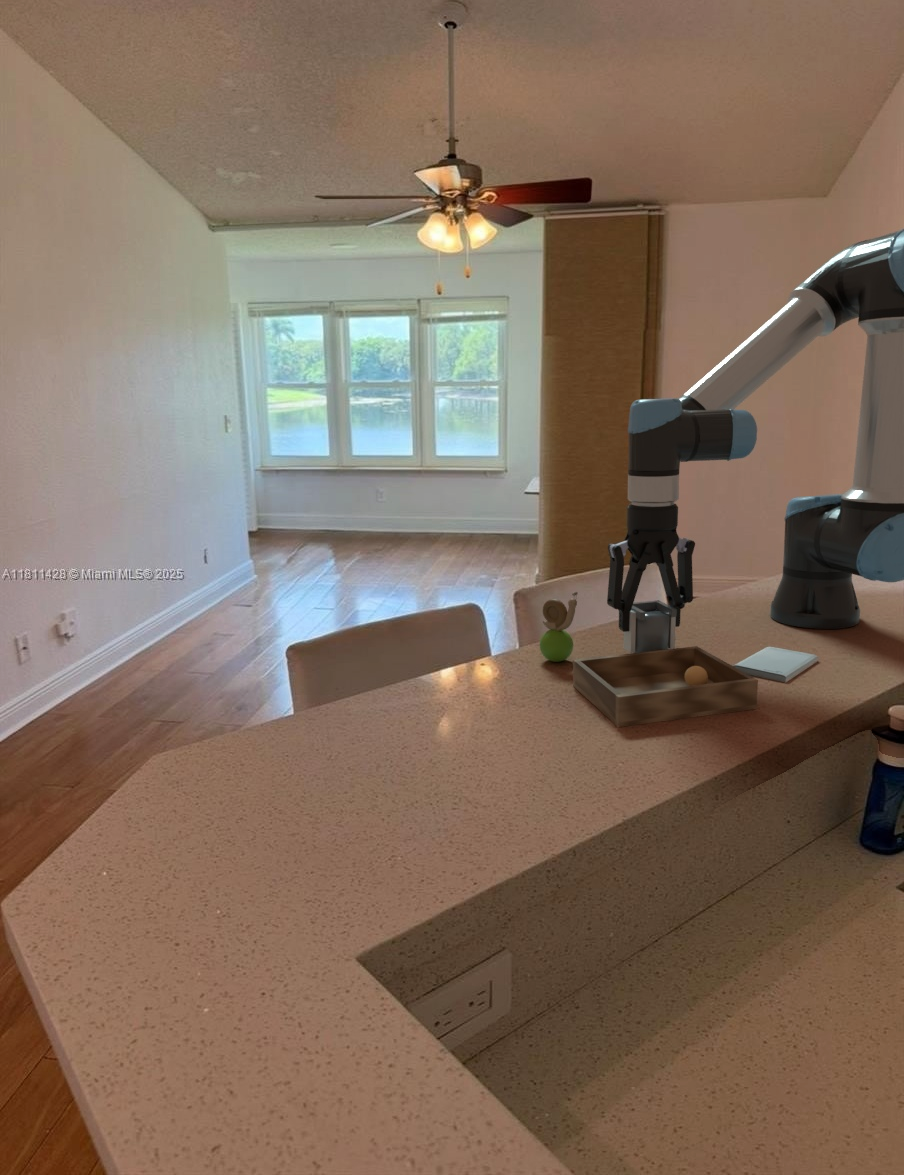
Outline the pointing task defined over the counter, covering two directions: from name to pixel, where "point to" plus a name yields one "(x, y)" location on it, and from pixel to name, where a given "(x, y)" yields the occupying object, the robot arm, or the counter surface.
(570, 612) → the snail figurine
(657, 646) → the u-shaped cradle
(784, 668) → the hard drive
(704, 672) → the ball
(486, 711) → the counter surface
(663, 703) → the tray
